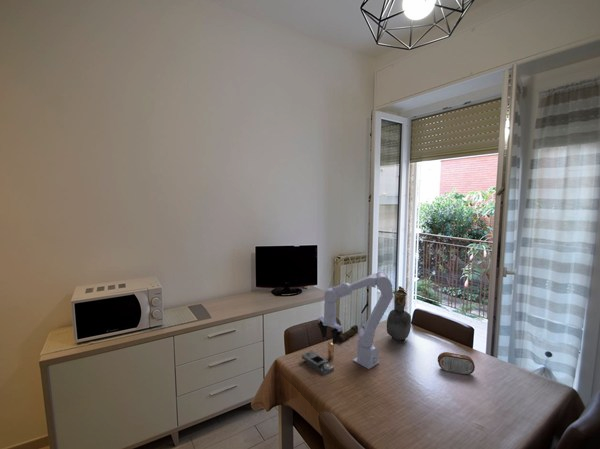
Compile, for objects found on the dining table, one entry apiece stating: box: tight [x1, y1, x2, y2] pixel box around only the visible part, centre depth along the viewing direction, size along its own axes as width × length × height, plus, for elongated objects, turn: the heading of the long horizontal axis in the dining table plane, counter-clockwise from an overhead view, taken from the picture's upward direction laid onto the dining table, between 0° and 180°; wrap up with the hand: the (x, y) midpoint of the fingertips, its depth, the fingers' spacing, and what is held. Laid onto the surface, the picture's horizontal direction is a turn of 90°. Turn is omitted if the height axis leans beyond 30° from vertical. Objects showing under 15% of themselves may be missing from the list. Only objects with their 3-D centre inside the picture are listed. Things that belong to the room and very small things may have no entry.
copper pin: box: [327, 341, 335, 361], centre depth 146 cm, size 3×3×8 cm
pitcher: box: [386, 286, 412, 344], centre depth 167 cm, size 11×19×30 cm, turn 147°
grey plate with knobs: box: [301, 350, 335, 376], centre depth 140 cm, size 15×7×3 cm, turn 41°
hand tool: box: [337, 324, 359, 344], centre depth 169 cm, size 19×4×5 cm, turn 135°
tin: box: [437, 351, 476, 376], centre depth 136 cm, size 15×3×8 cm, turn 71°
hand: (329, 340), depth 146 cm, fingers open, 7 cm apart
